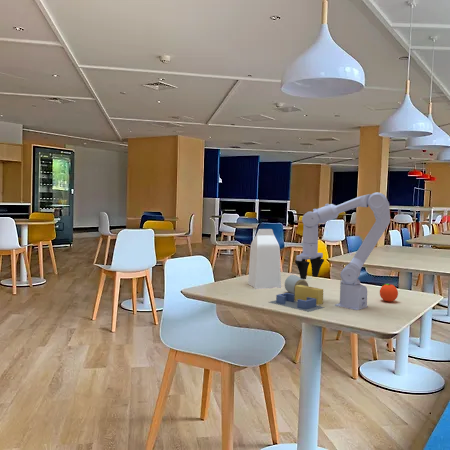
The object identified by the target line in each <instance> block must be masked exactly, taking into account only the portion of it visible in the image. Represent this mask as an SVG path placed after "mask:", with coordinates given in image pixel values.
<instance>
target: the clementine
mask: <svg viewBox="0 0 450 450" xmlns="http://www.w3.org/2000/svg"><path fill="white" fill-rule="evenodd" d="M379 296H380V298H381V299H382V300H383V301H384V302H388V303H389V302H390V303H391V302H393V301H395V300H396V299H397V298H398V296H399V291H398V288H397V287H396V286H395V285H394V284H391V283H383V284H382V285H381V287H380V289H379Z"/></svg>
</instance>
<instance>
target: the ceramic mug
mask: <svg viewBox="0 0 450 450" xmlns="http://www.w3.org/2000/svg"><path fill="white" fill-rule="evenodd" d="M297 285H303V286H309V282H308V281H306V279H301V278H300V277H299V276H298V275H296V274H290V275H289V276H287V277H286V279H285V281H284V289H285V291H287V293H291V294H295V286H297Z"/></svg>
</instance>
